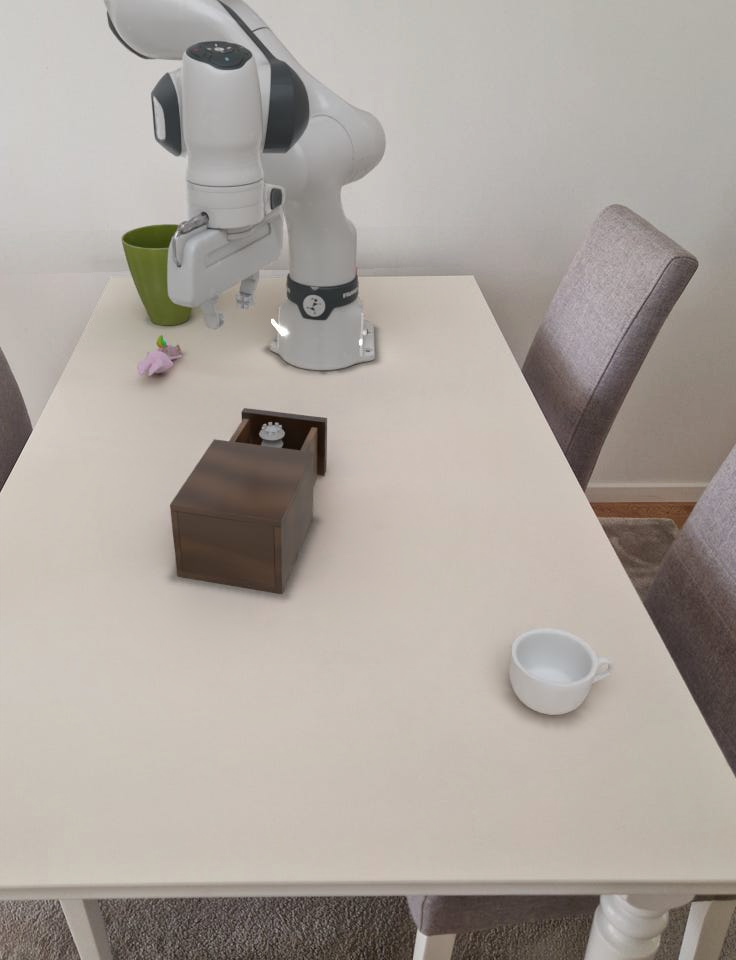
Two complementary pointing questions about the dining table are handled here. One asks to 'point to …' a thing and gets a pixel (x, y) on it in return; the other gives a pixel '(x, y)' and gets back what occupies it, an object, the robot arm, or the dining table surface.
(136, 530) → the dining table surface
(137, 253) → the flower pot
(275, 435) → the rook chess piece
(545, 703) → the teacup
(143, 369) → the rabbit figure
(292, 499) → the cabinet
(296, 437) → the drawer
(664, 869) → the dining table surface
